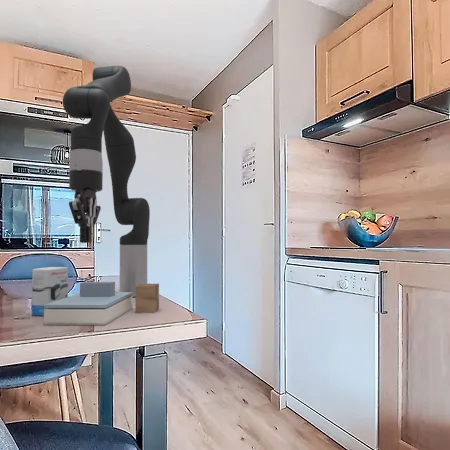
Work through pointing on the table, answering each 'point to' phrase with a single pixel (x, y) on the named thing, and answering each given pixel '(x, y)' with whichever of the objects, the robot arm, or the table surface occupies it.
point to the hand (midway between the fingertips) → (85, 242)
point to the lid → (91, 296)
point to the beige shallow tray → (87, 314)
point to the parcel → (147, 298)
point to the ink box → (48, 287)
